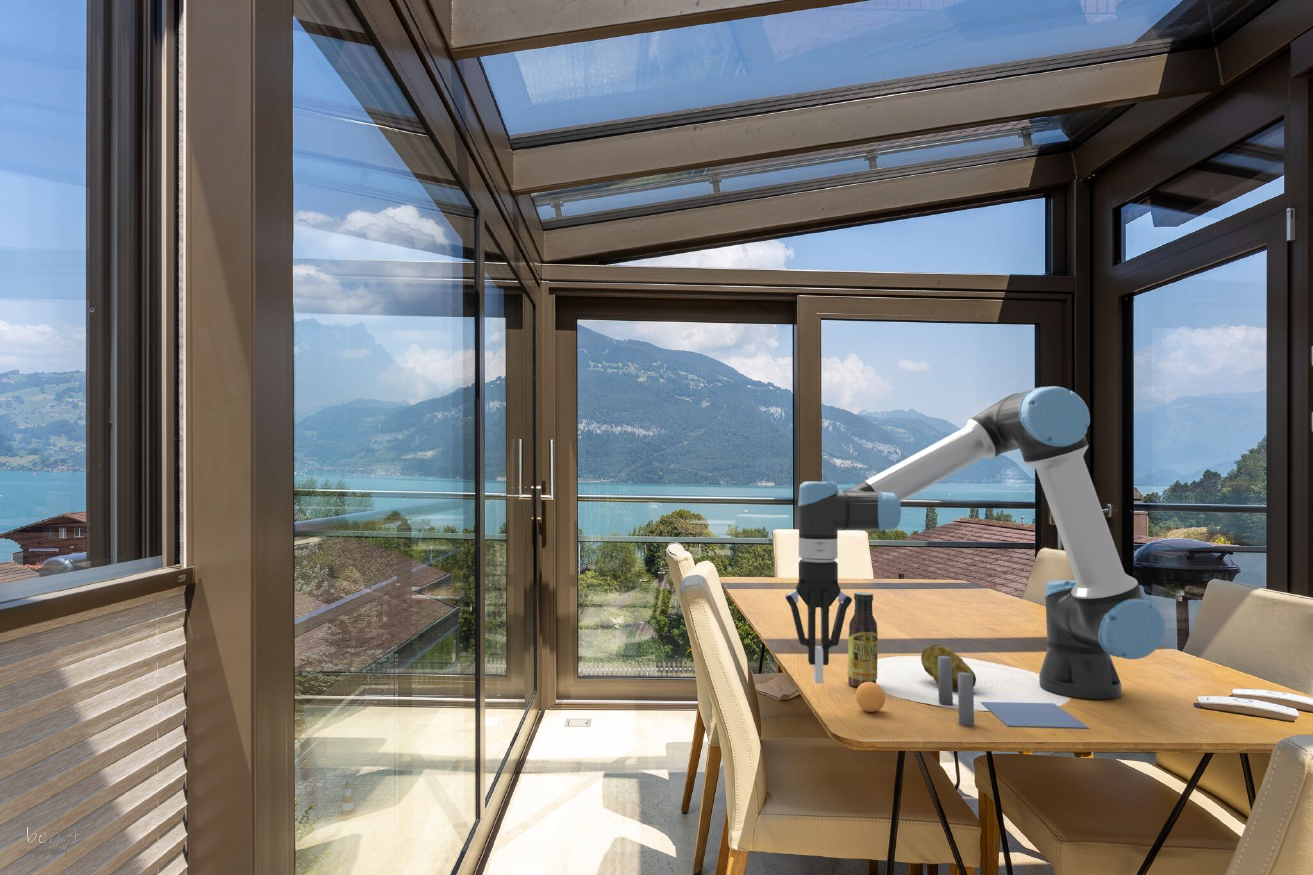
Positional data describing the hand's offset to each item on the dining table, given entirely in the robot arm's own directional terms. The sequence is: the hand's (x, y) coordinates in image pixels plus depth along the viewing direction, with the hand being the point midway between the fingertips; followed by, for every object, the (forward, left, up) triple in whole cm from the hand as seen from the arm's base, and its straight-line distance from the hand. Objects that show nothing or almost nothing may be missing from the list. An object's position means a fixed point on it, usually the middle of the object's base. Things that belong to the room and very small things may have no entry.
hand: (818, 681), depth 143 cm
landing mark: (-40, 0, -6) cm, 40 cm away
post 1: (-26, -6, -6) cm, 27 cm away
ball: (-10, 0, -3) cm, 10 cm away
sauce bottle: (-12, -18, -6) cm, 22 cm away
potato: (-30, -19, -6) cm, 36 cm away
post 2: (-26, +6, -6) cm, 27 cm away
